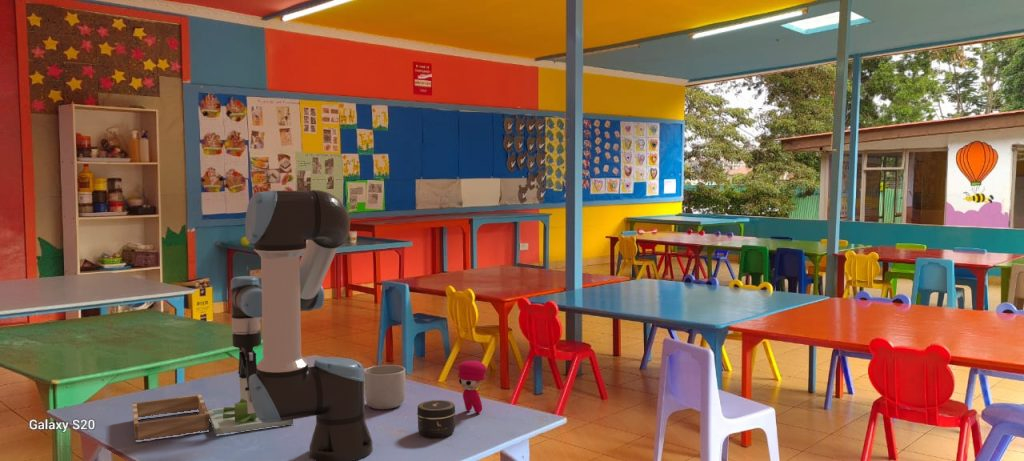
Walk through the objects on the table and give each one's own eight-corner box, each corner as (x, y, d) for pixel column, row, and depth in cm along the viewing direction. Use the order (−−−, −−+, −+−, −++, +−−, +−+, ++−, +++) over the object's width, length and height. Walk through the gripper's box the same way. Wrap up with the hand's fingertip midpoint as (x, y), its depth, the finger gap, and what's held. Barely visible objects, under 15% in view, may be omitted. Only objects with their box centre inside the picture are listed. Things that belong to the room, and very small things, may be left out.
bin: (209, 432, 204) (209, 413, 203) (135, 443, 195) (134, 424, 195) (201, 411, 223) (200, 394, 223) (133, 420, 215) (132, 403, 215)
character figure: (223, 392, 213) (268, 388, 217) (224, 406, 216) (269, 402, 219) (221, 420, 203) (268, 415, 207) (222, 435, 206) (269, 430, 209)
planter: (357, 410, 222) (356, 373, 221) (374, 398, 234) (373, 364, 233) (396, 413, 219) (395, 375, 218) (412, 401, 231) (411, 365, 230)
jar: (421, 441, 195) (420, 412, 194) (414, 429, 204) (414, 401, 204) (459, 437, 197) (458, 408, 197) (451, 425, 207) (450, 398, 206)
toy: (452, 414, 217) (451, 362, 216) (467, 406, 224) (466, 356, 223) (478, 418, 213) (477, 365, 212) (492, 410, 220) (491, 359, 219)
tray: (293, 425, 209) (293, 417, 209) (215, 436, 200) (215, 429, 200) (279, 406, 227) (279, 400, 227) (207, 416, 217) (207, 409, 217)
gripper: (268, 337, 202) (271, 416, 204) (253, 323, 224) (255, 394, 226) (238, 340, 199) (241, 420, 200) (226, 326, 221) (229, 397, 222)
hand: (249, 406), depth 213 cm, fingers open, 13 cm apart
